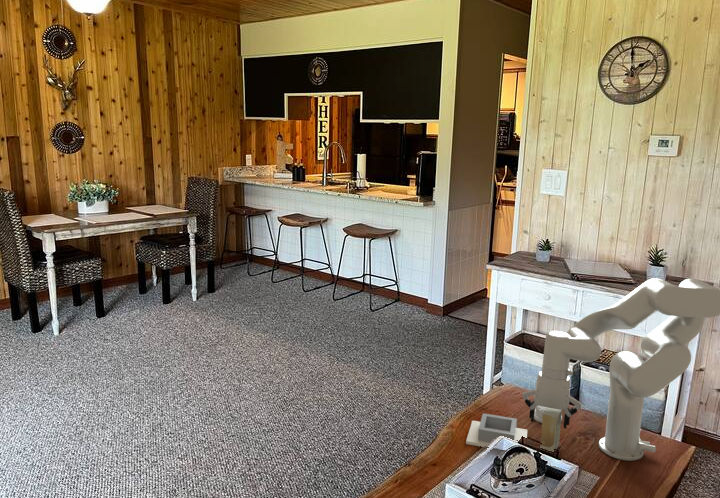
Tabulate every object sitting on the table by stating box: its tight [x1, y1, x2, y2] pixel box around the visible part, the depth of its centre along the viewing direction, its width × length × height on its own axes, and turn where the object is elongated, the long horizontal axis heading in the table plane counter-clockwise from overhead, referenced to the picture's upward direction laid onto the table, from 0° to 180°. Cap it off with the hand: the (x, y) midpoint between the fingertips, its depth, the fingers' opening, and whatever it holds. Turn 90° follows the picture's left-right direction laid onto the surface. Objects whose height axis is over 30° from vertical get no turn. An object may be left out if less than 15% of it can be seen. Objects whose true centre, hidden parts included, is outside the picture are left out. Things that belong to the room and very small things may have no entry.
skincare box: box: [539, 407, 563, 453], centre depth 174 cm, size 6×4×12 cm
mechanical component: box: [534, 406, 563, 424], centre depth 193 cm, size 10×4×10 cm
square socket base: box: [465, 412, 528, 448], centre depth 180 cm, size 18×14×5 cm
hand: (548, 423), depth 173 cm, fingers open, 9 cm apart
